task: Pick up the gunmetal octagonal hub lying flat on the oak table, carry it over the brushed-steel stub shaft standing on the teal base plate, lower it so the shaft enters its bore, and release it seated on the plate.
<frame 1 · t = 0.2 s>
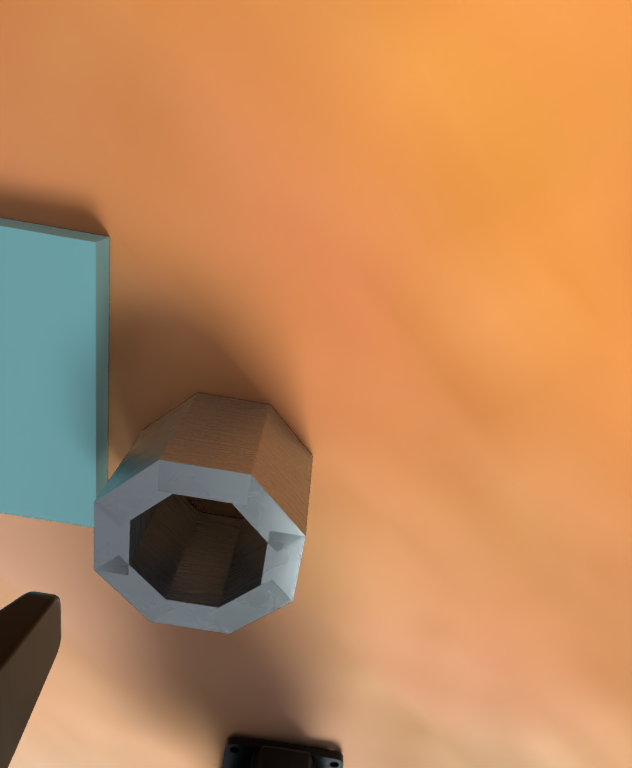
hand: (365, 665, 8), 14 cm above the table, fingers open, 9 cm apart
hub: (225, 472, 23), on the table
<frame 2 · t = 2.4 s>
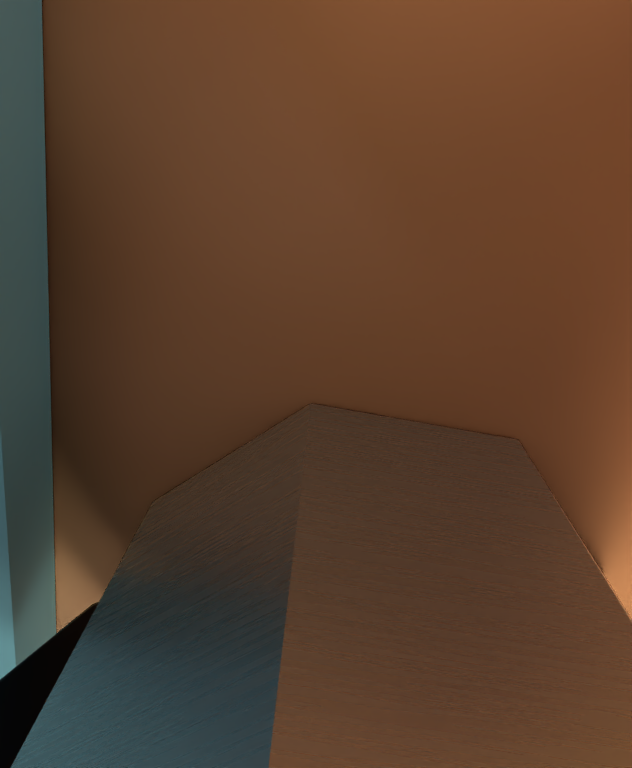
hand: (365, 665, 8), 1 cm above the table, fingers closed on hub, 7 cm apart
hub: (362, 610, 9), on the table, touching gripper
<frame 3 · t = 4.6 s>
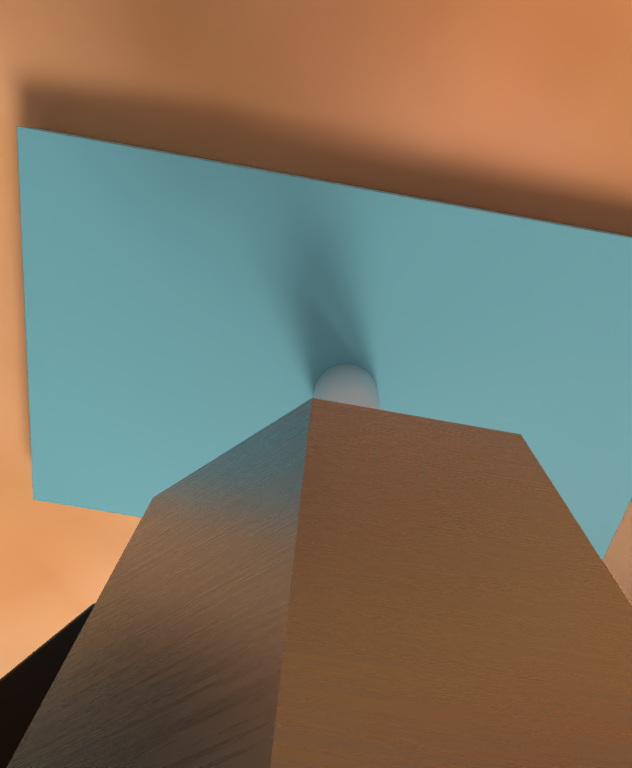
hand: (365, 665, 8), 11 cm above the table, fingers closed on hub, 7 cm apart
hub: (364, 607, 9), point 10 cm above the table, touching gripper
shaft base: (345, 379, 18), on the table
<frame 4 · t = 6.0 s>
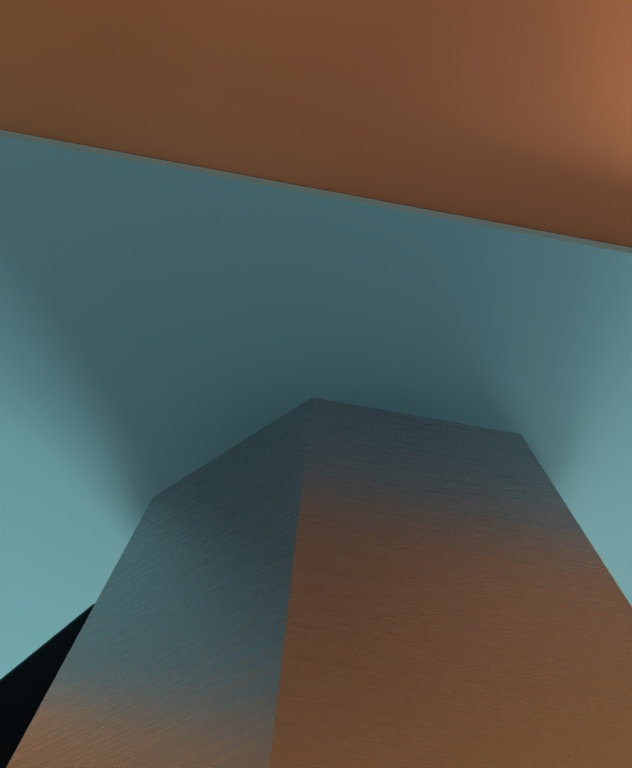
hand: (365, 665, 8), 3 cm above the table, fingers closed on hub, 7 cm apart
hub: (364, 607, 9), point 2 cm above the table, touching gripper
shaft base: (355, 515, 11), on the table
when the fingers open (3 cm above the table, at t = 6.9 s): hub drops 1 cm, resting on shaft base.
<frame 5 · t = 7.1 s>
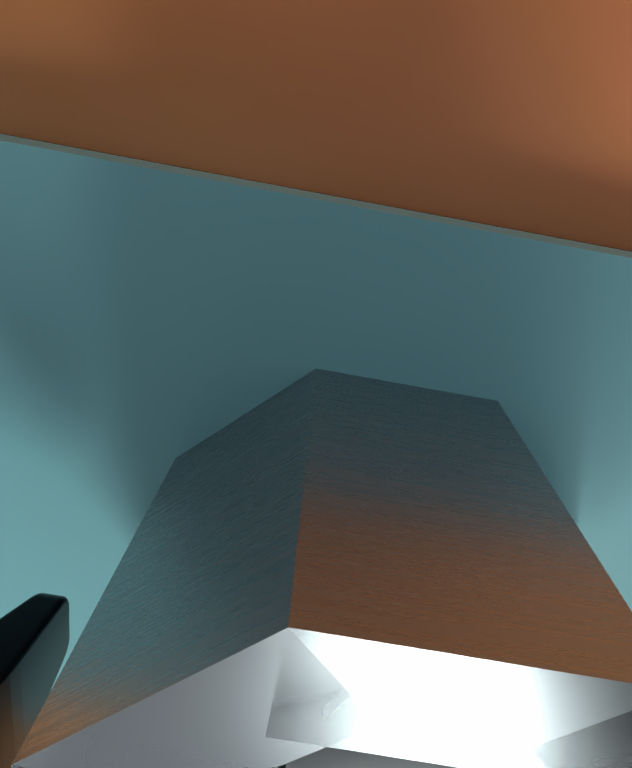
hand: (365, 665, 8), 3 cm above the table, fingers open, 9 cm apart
hub: (361, 558, 10), point 1 cm above the table, touching shaft base
shaft base: (357, 519, 11), on the table
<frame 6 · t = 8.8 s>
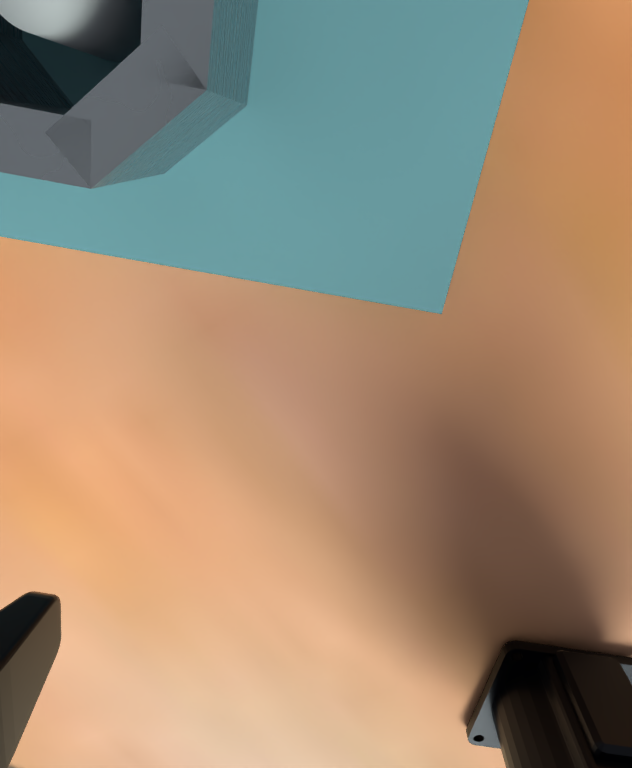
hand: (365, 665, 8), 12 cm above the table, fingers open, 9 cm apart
hub: (114, 14, 13), point 1 cm above the table, touching shaft base
shaft base: (129, 24, 15), on the table
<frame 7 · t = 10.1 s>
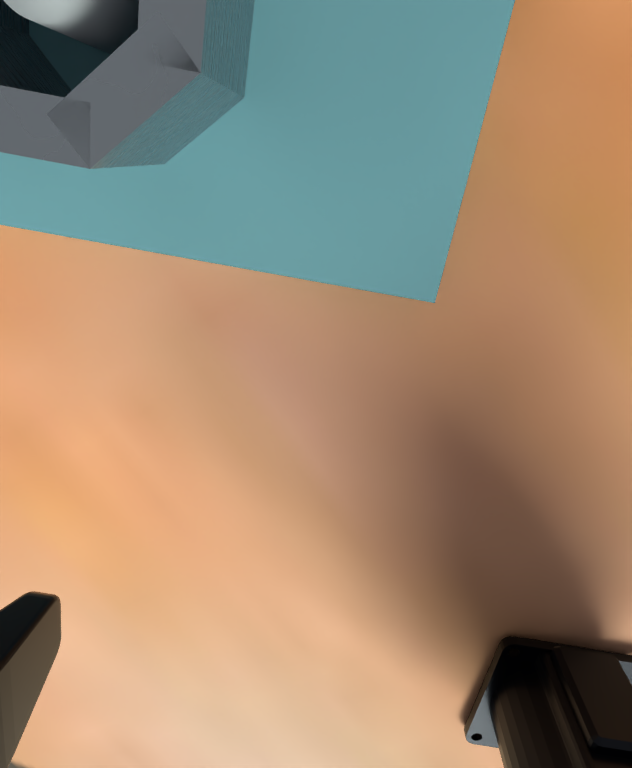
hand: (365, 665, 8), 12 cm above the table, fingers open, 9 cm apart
hub: (117, 9, 14), point 1 cm above the table, touching shaft base
shaft base: (132, 21, 15), on the table
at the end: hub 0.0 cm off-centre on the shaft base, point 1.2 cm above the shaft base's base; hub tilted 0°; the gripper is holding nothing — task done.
